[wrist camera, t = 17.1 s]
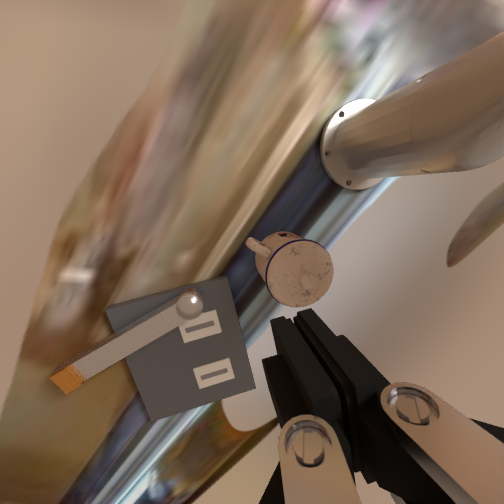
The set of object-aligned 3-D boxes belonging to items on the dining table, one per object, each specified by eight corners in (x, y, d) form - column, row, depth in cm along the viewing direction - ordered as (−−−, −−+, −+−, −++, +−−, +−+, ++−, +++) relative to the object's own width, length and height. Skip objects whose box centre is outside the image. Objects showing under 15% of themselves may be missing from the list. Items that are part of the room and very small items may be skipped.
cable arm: (194, 283, 36) (193, 292, 33) (207, 303, 37) (208, 313, 34) (59, 362, 35) (45, 378, 32) (76, 379, 36) (64, 397, 33)
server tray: (226, 274, 39) (228, 279, 37) (254, 381, 45) (256, 390, 43) (108, 305, 37) (103, 312, 35) (153, 414, 43) (150, 425, 41)
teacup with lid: (318, 247, 41) (360, 268, 30) (288, 293, 42) (317, 330, 31) (257, 208, 38) (278, 215, 26) (226, 259, 39) (234, 286, 28)
